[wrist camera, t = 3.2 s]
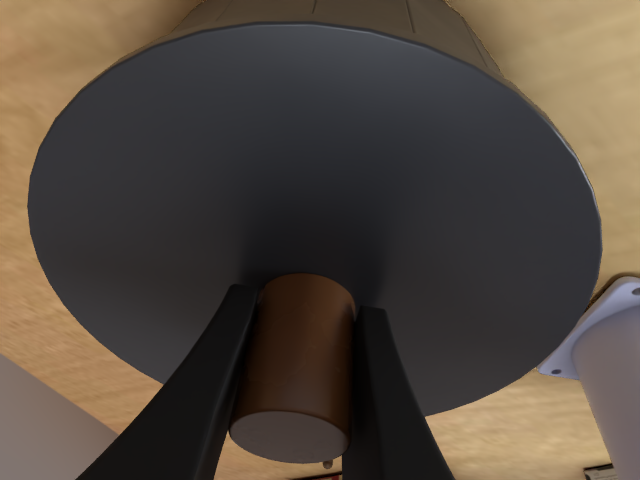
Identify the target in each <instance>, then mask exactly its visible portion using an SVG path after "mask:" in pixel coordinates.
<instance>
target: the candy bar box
mask: <svg viewBox="0 0 640 480" xmlns="http://www.w3.org/2000/svg"><path fill="white" fill-rule="evenodd" d="M584 474H585V477H586V480H619V479H618V477H617V474H616V472H615V469H614V467H613V465H610V466H605V467H601V468H595V469H590V470H585V471H584Z"/></svg>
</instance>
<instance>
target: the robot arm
mask: <svg viewBox="0 0 640 480" xmlns="http://www.w3.org/2000/svg"><path fill="white" fill-rule="evenodd" d="M258 289H259V288H258V287H252V286H246V285H240V284H233V285H231V286H229V289H228V291H227V293H226V295H225V297H224V299H223V300H222V302H221V304H220V306H219V308H218V309H217V311H216V313H215V314H214V316H213V318H212V319H211V321H210V322H209V324H208V325H207V327H206V329H205V330H204V332H203V333H202V334H201V336H200V337H199V339H198V340H197V342H196V343H195V344H194V346H193V347H192V349H191V350H190V352H189V353H188V354H187V356H186V357H185V359H184V360H183V361H182V363H181V364H180V365H179V366H178V368H177V369H176V370H175V371H174V373H173V374H172V375H171V376H170V378H169V379H168V380H167V382H166V383H165V384H164V385H163V387H162V388H161V389H160V390H159V392H158V393H157V394H156V395H155V396H154V397H153V399H152V400H151V401H150V402H149V403H148V405H147V406H146V407H145V408H144V409H143V410H142V411H141V413H140V414H139V415H138V416H137V417H136V418H135V419H134V420H133V421H132V423H131V424H130V425H129V426H128V427H127V428H126V429H125V430H124V431H123V432H122V433H121V434H120V435H119V436H118V437H117V439H116V440H115V441H114V442H113V443H112V444H111V445H110V446H109V447H108V448H107V449H106V450H105V451H104V452H103V453H102V454H101V455H100V456H99V457H98V458H97V459H96V460H95V461H94V462H93V463H92V464H91V465H90V466H89V467H88V468H87V469H86V470H85V471H84V472H83V473H82V474H81V475H80V476H79V477H78V478H77V479H75V480H213V479H214V475H215V472H216V468H217V464H218V460H219V457H220V454H221V450H222V447H223V444H224V441H225V438H226V434H227V431H228V424H229V420H230V416H231V412H232V407H233V403H234V399H235V394H236V390H237V386H238V382H239V377H240V373H241V369H242V365H243V360H244V356H245V352H246V348H247V344H248V341H249V337H250V333H251V328H252V324H253V320H254V315H255V311H256V307H257V298H258ZM537 369H538V372H539V373H541V374H544V375H551V376H557V377H563V378H569V379H575V380H580V382H581V384H582V387H583V389H584V392H585V394H586V397H587V400H588V402H589V405H590V407H591V410H592V412H593V415H594V418H595V420H596V423H597V425H598V428H599V430H600V433H601V436H602V438H603V441H604V443H605V446H606V449H607V451H608V454H609V456H610V459H611V461H612V464H613V467H614V469H615V472H616V474H617V477H618V479H619V480H640V278H636V277H628V276H626V277H621V278H619V279H617V280H616V281H615V282H614V283H613V284H612V285H611V286H610V287H609V288H608V289H607V290H606V291H605V292H604V293H603V294H602V295H601V296H600V298H599V299H598V300H597V301H596V302H595V303H594V304H593V305H592V306H591V307H590V308H589V309H588V310H587V311H586V312H585V313H584V315H583V316H582V317H581V318H580V319H579V321H578V323H577V324H576V326H575V328H574V329H573V330H572V331H571V332H570V334H569V335H568V336H567V337H566V338H565V340H564V341H563V342H562V343H561V344H560V346H559V347H558V348H557V349H556V350H554V351H553V352H552V353H551V354H550V355H549V356H548V357H547V358H546V359H545V360H544V361H543V362H541V363H540V364H539V365H538V366H537ZM342 480H455V478H454V477H453V475H452V473H451V471H450V469H449V467H448V465H447V463H446V461H445V459H444V457H443V455H442V453H441V451H440V449H439V447H438V445H437V443H436V441H435V439H434V437H433V435H432V433H431V430H430V428H429V426H428V424H427V422H426V419H425V417H424V415H423V413H422V410H421V408H420V406H419V403H418V401H417V399H416V396H415V393H414V391H413V388H412V386H411V383H410V381H409V378H408V376H407V373H406V370H405V367H404V365H403V362H402V359H401V356H400V353H399V350H398V347H397V344H396V341H395V338H394V334H393V331H392V328H391V324H390V320H389V317H388V313H387V311H386V310H385V309H381V308H375V307H370V306H364V305H361V306H360V309H359V312H358V315H357V317H356V320H355V334H354V372H353V410H352V442H351V445H350V447H349V449H348V450H347V451H346V452H345V453H344V454H343V455H342Z"/></svg>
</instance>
